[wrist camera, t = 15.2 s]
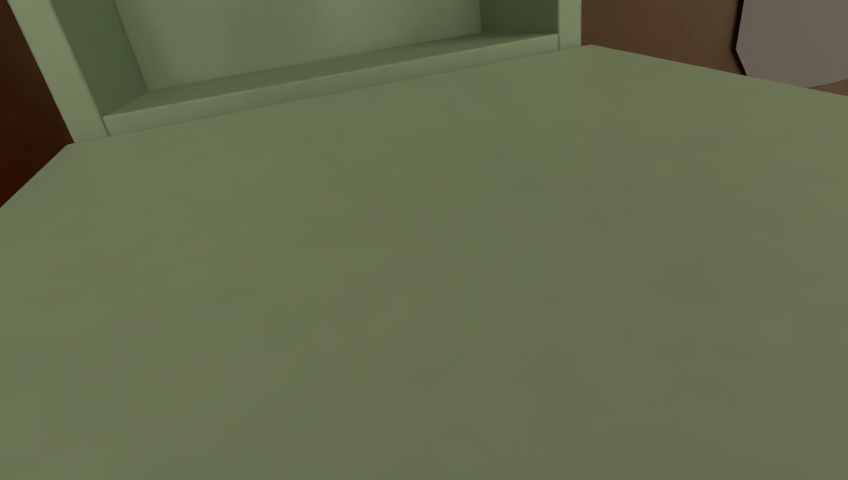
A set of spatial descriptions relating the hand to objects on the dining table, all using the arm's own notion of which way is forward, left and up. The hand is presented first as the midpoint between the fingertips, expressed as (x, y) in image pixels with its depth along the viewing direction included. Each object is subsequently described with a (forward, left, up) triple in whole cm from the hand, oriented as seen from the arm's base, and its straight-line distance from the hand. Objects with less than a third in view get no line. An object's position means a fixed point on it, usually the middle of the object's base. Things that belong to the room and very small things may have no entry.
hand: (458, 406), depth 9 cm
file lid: (0, +5, +2) cm, 5 cm away
